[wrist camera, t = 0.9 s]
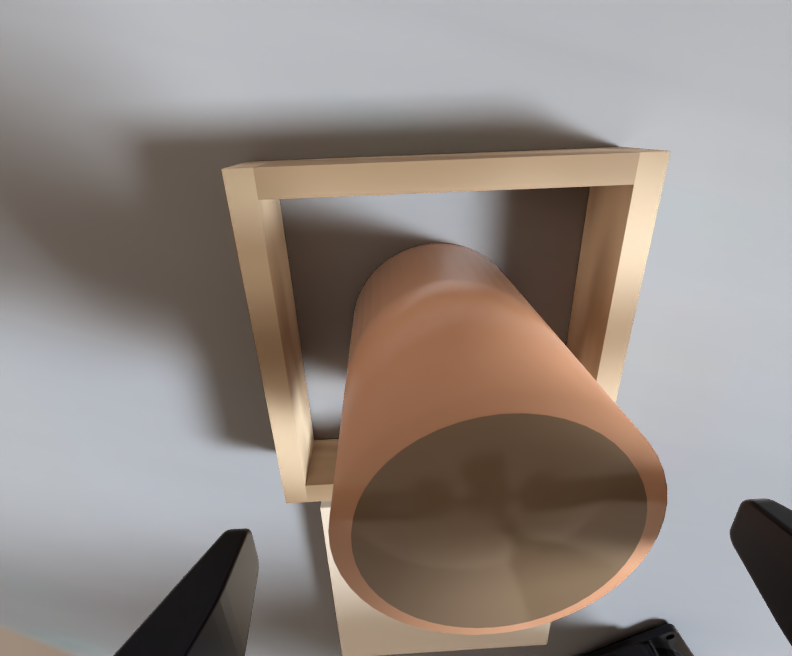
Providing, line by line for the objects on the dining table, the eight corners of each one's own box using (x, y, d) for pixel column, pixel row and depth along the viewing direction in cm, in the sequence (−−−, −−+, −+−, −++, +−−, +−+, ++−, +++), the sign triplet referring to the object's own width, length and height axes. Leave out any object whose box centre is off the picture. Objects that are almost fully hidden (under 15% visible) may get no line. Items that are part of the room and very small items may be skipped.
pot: (543, 341, 16) (714, 559, 8) (411, 417, 18) (442, 673, 9) (465, 207, 14) (588, 321, 6) (319, 305, 15) (253, 512, 7)
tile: (541, 628, 24) (546, 644, 23) (343, 641, 24) (342, 657, 23) (568, 479, 19) (575, 493, 19) (322, 493, 19) (320, 507, 18)
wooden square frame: (570, 441, 18) (597, 485, 16) (297, 456, 18) (286, 503, 16) (621, 146, 13) (670, 151, 11) (247, 161, 13) (221, 168, 11)
